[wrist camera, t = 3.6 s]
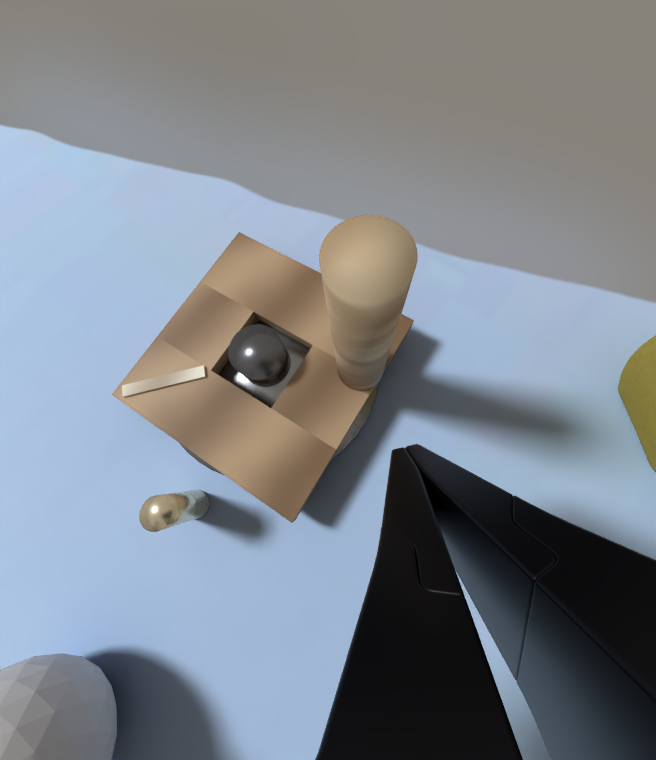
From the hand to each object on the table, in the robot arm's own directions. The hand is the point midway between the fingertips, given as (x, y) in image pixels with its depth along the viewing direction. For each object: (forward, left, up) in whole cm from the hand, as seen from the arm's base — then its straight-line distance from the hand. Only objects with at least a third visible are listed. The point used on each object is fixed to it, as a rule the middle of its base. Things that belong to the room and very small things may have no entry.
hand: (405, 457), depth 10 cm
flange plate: (+9, -1, -8) cm, 12 cm away
